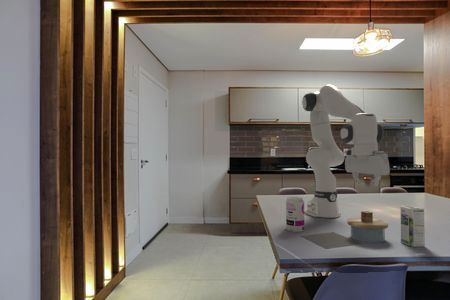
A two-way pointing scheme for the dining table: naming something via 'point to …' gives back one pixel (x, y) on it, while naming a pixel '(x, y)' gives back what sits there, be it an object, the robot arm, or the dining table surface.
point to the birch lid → (367, 221)
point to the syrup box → (412, 226)
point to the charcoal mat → (330, 240)
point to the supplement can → (295, 214)
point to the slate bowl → (368, 234)
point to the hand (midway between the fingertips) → (366, 184)
